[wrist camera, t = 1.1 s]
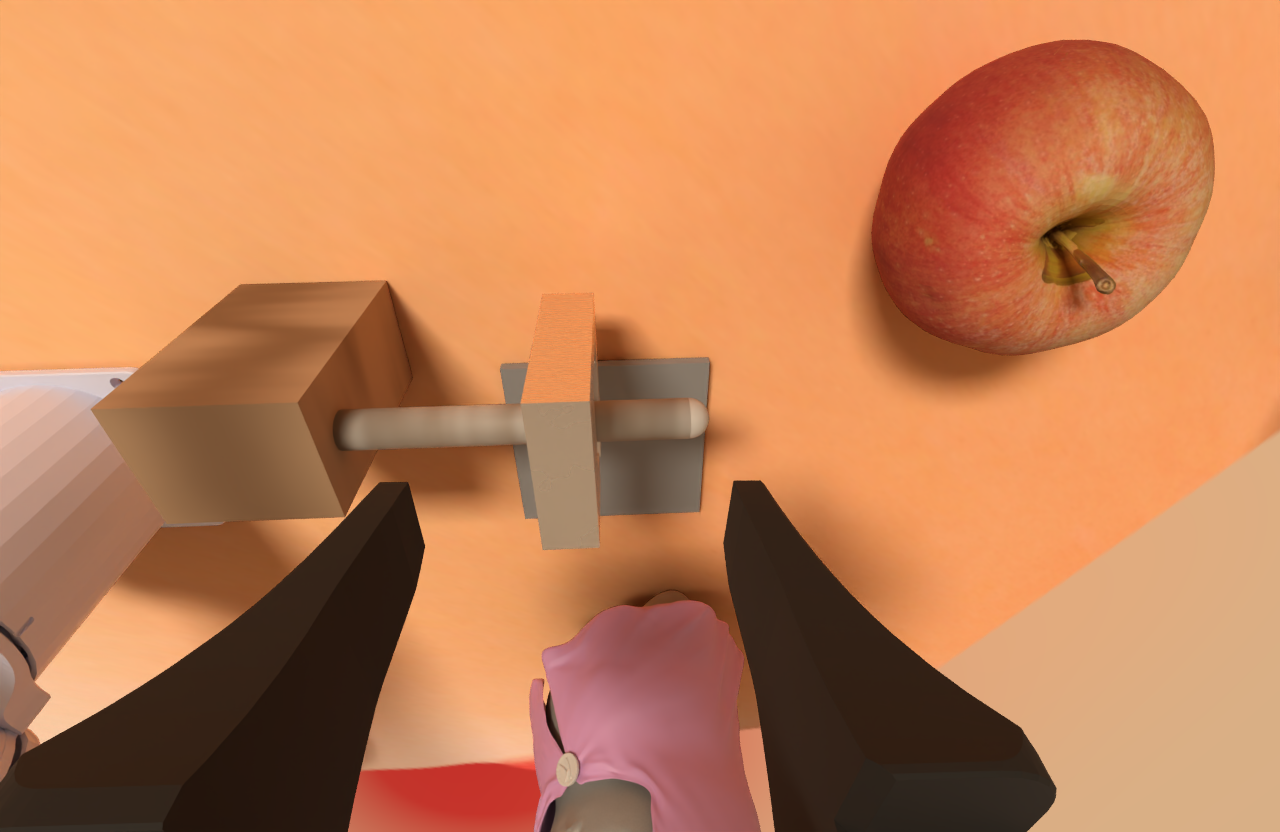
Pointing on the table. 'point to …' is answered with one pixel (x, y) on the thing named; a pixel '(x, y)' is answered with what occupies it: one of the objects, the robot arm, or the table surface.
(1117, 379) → the table surface
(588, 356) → the link
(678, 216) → the table surface
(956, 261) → the apple
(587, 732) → the toy character
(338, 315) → the stand
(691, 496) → the mat
